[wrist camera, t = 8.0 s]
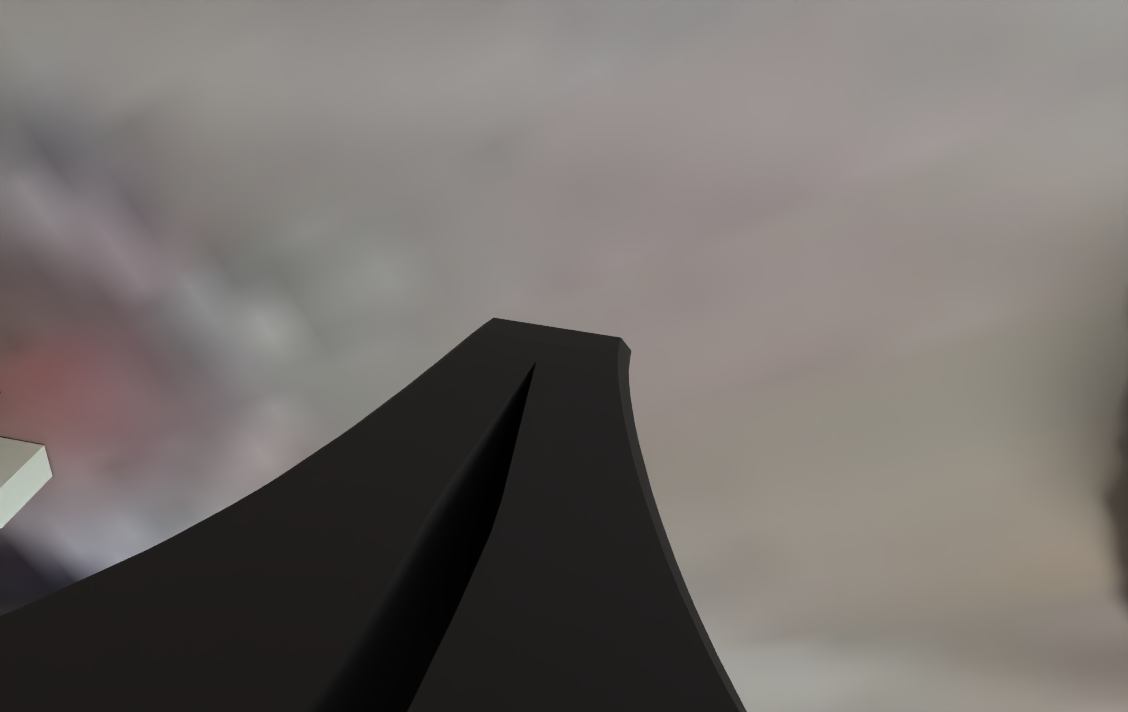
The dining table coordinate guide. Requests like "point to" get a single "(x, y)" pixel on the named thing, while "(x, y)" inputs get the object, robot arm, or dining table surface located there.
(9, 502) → the mint green slab
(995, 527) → the dining table surface
